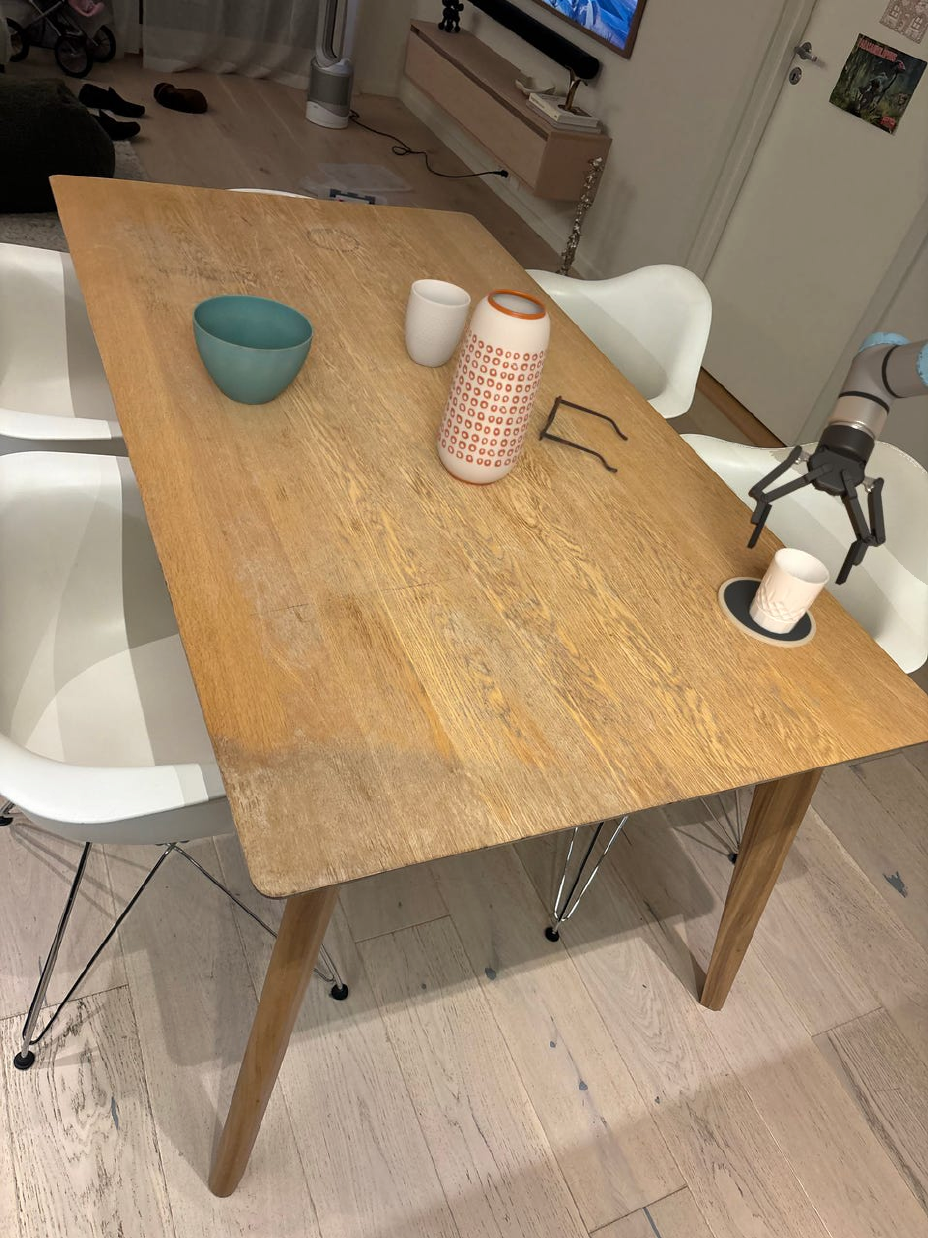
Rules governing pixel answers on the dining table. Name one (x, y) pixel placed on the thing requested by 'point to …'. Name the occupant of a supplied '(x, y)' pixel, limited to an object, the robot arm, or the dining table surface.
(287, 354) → the teal bowl
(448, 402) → the patterned vase
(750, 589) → the face circle
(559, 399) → the eyeglasses
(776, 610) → the white cup
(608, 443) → the dining table surface
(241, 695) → the dining table surface
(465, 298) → the mug
